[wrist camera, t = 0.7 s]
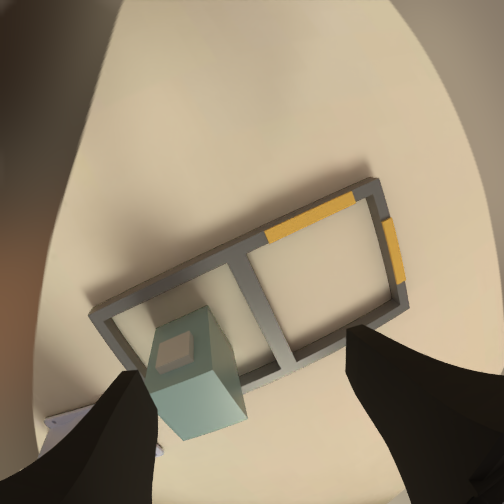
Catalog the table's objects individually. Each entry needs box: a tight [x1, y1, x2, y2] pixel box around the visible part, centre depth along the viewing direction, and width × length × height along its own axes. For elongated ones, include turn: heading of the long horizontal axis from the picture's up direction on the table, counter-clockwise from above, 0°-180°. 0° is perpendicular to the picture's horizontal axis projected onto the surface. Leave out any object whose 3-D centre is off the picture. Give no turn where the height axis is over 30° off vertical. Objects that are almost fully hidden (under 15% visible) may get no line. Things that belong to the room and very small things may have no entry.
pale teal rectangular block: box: [144, 306, 248, 441], centre depth 17 cm, size 4×4×7 cm
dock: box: [88, 177, 410, 394], centre depth 20 cm, size 21×11×1 cm, turn 114°
